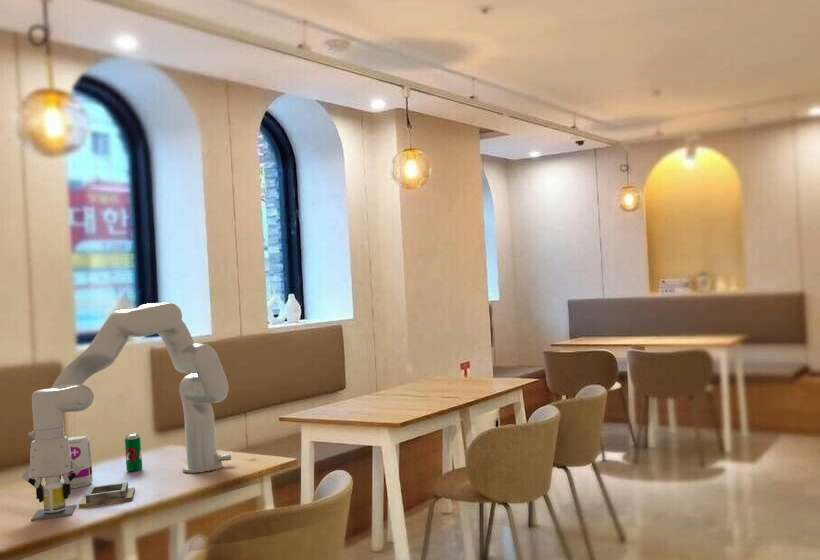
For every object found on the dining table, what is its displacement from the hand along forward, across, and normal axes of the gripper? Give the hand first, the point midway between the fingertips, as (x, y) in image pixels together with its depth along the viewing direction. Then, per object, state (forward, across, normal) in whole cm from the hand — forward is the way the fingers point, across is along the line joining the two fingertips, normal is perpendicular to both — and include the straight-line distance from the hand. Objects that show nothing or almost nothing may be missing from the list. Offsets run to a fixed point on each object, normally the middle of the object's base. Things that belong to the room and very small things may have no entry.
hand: (54, 498), depth 207 cm
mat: (+4, 0, 0) cm, 4 cm away
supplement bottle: (+4, 0, 0) cm, 4 cm away
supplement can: (+4, +2, +32) cm, 32 cm away
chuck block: (+4, +13, +8) cm, 16 cm away
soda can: (+4, +18, +43) cm, 47 cm away
